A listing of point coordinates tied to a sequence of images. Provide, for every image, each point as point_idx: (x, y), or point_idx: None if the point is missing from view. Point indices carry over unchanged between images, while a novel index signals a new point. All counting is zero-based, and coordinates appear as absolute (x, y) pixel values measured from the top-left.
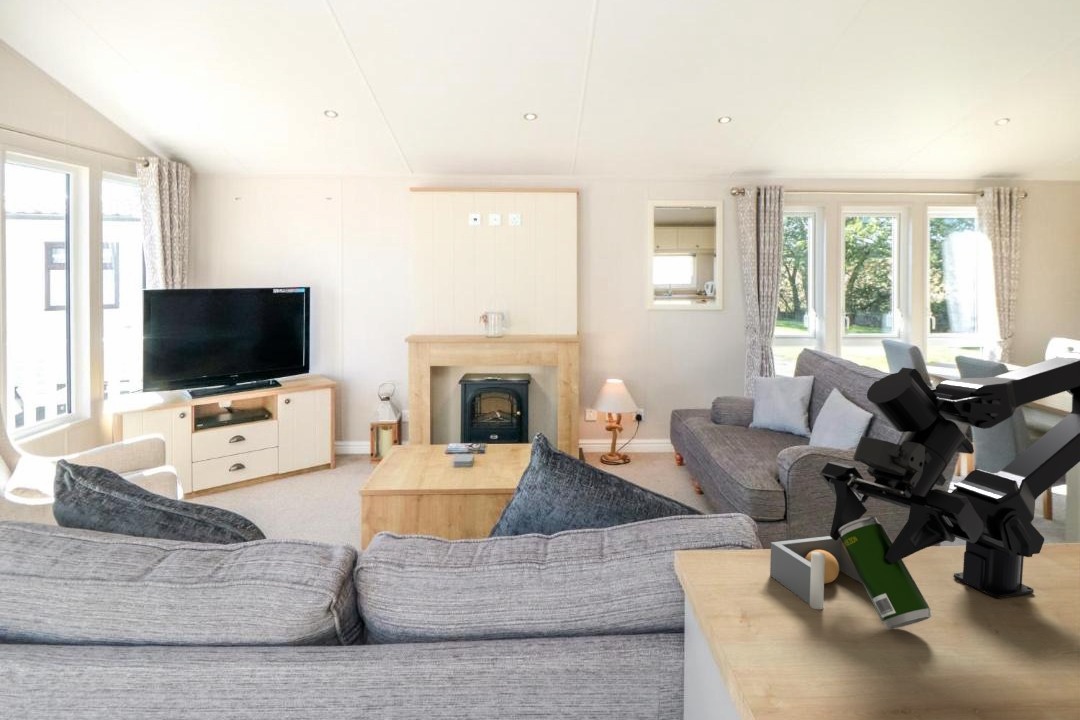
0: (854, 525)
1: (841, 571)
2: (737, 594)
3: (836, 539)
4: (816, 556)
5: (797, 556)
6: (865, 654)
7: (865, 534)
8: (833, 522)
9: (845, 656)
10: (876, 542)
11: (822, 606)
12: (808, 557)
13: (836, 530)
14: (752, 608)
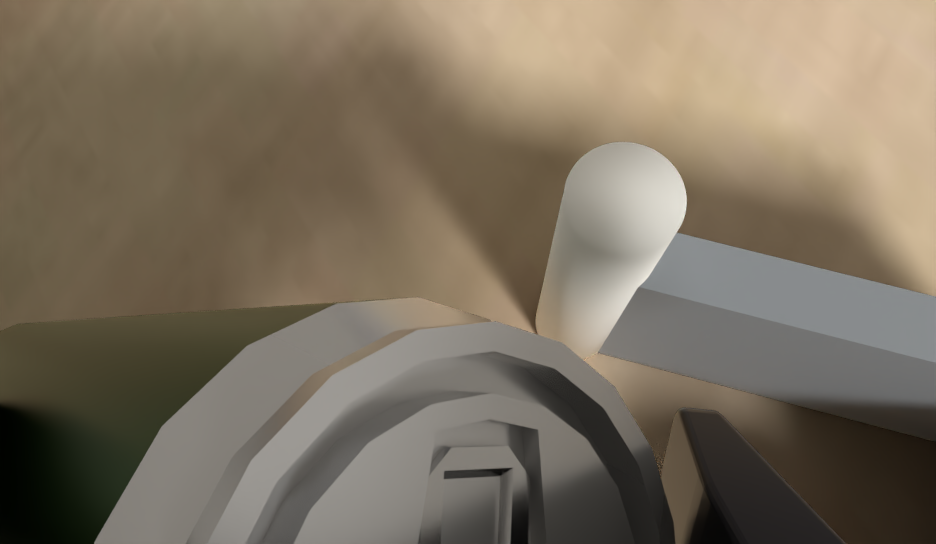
0: (347, 351)
1: None
2: (883, 48)
3: (664, 488)
4: (600, 148)
5: (865, 314)
6: (152, 129)
7: (178, 357)
8: (803, 515)
9: (199, 39)
10: (69, 413)
11: (537, 324)
12: None
13: (692, 478)
14: (722, 6)
